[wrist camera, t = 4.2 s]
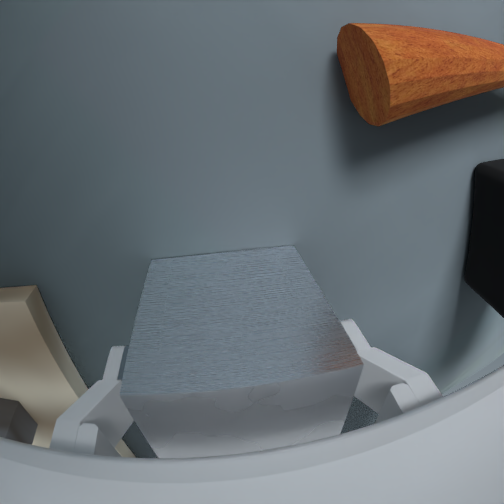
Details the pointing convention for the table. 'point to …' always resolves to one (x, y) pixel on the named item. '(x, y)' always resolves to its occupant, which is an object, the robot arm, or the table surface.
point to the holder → (34, 371)
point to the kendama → (413, 68)
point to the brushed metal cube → (236, 356)
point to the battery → (488, 235)
